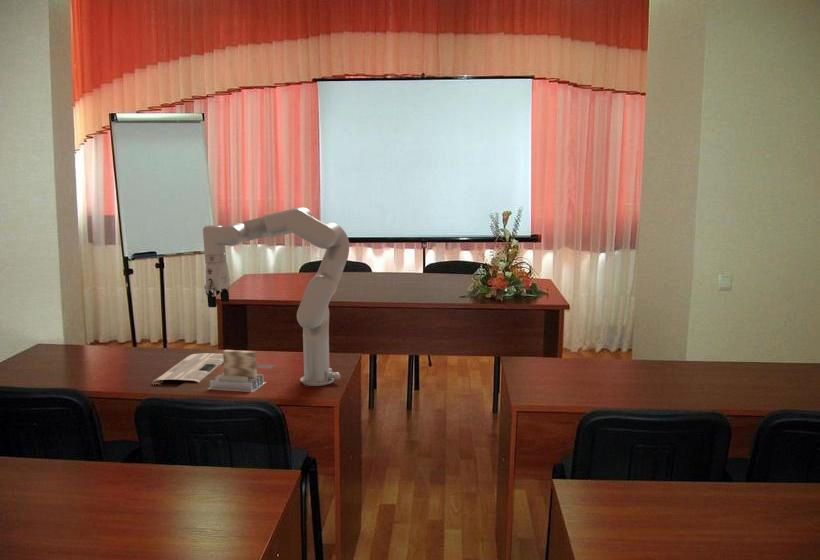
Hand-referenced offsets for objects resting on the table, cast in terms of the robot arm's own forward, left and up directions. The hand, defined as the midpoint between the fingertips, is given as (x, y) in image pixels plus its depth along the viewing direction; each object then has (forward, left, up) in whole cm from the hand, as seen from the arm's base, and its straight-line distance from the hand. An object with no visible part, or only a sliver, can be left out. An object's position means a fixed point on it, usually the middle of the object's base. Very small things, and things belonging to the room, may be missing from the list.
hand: (218, 304), depth 280 cm
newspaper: (+18, -9, -30) cm, 36 cm away
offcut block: (-10, +11, -28) cm, 32 cm away
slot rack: (-10, +8, -29) cm, 32 cm away
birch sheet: (-10, +5, -28) cm, 30 cm away
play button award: (-6, -9, -30) cm, 32 cm away
